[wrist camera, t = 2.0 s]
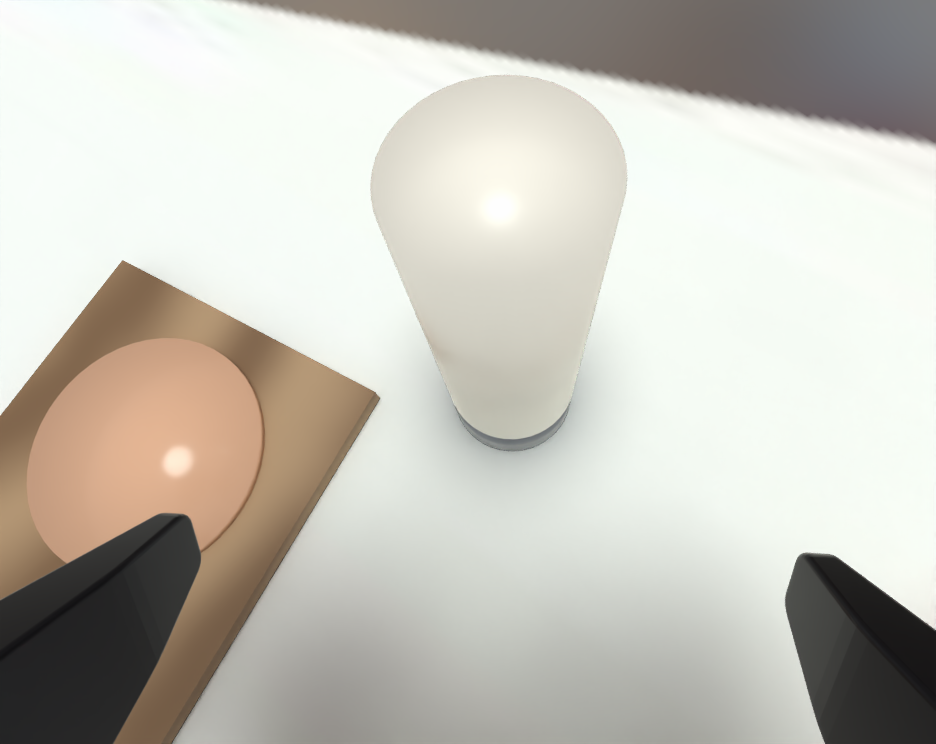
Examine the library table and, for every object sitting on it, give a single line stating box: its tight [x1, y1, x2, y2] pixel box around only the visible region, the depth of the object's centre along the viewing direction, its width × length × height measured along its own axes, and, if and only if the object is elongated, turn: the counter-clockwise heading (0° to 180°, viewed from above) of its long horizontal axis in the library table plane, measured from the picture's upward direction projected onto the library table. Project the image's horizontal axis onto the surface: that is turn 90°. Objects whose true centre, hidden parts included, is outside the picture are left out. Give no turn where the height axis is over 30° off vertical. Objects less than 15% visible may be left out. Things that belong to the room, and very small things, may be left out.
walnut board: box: [0, 260, 380, 744], centre depth 21 cm, size 13×25×1 cm, turn 151°
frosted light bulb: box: [371, 75, 627, 451], centre depth 16 cm, size 4×4×13 cm
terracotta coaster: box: [27, 338, 265, 563], centre depth 22 cm, size 9×9×1 cm
